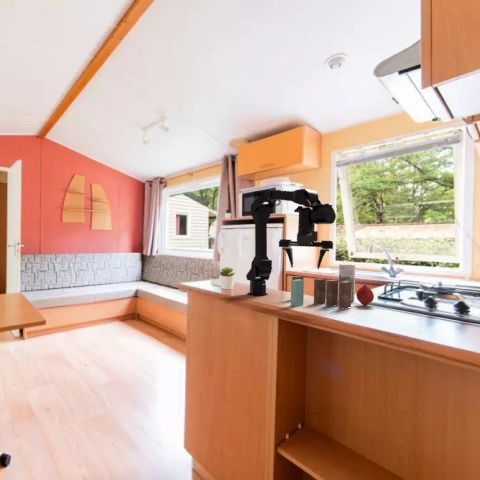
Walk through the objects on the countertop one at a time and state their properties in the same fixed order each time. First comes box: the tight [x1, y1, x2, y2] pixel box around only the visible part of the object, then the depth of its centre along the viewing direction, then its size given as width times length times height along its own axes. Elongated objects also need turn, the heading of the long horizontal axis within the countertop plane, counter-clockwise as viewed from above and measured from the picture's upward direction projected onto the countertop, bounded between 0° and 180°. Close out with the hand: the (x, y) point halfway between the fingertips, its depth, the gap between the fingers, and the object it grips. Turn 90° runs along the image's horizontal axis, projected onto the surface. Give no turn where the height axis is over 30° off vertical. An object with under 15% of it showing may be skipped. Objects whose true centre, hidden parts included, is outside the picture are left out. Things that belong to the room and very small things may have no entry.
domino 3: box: [313, 278, 327, 305], centre depth 111 cm, size 2×5×9 cm, turn 134°
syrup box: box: [338, 262, 356, 302], centre depth 120 cm, size 6×6×14 cm
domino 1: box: [291, 275, 304, 280], centre depth 119 cm, size 2×5×9 cm, turn 134°
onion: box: [356, 283, 375, 307], centre depth 108 cm, size 6×6×8 cm
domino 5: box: [338, 281, 352, 310], centre depth 104 cm, size 2×5×9 cm, turn 133°
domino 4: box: [325, 279, 339, 307], centre depth 108 cm, size 2×5×9 cm, turn 134°
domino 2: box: [290, 279, 305, 307], centre depth 107 cm, size 2×5×9 cm, turn 134°
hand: (305, 268), depth 107 cm, fingers open, 9 cm apart
